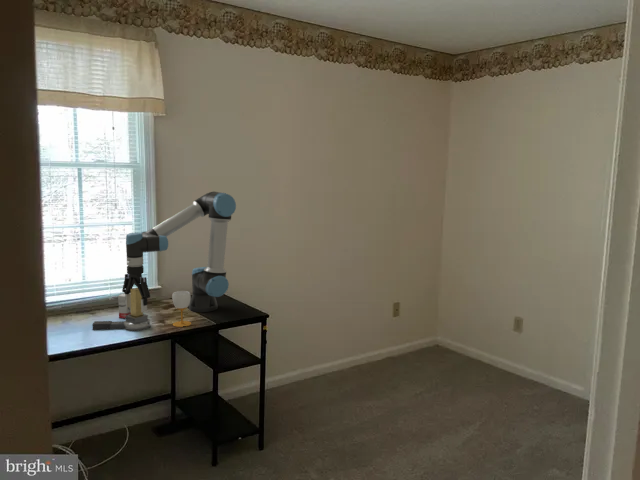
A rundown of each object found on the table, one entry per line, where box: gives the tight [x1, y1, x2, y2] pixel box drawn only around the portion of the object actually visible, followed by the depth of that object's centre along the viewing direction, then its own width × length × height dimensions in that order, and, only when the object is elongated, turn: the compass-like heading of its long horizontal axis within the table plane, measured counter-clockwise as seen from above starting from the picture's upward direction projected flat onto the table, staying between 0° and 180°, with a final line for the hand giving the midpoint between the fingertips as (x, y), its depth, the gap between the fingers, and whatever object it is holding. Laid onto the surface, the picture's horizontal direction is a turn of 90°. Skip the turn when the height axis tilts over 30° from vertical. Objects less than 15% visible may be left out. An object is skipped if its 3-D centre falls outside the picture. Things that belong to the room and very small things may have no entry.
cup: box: [171, 290, 192, 328], centre depth 266 cm, size 9×9×16 cm
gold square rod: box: [131, 287, 144, 318], centre depth 260 cm, size 4×4×16 cm
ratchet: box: [91, 313, 151, 332], centre depth 260 cm, size 26×12×6 cm, turn 99°
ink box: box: [117, 292, 131, 319], centre depth 278 cm, size 9×5×12 cm, turn 168°
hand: (136, 309), depth 260 cm, fingers open, 11 cm apart
